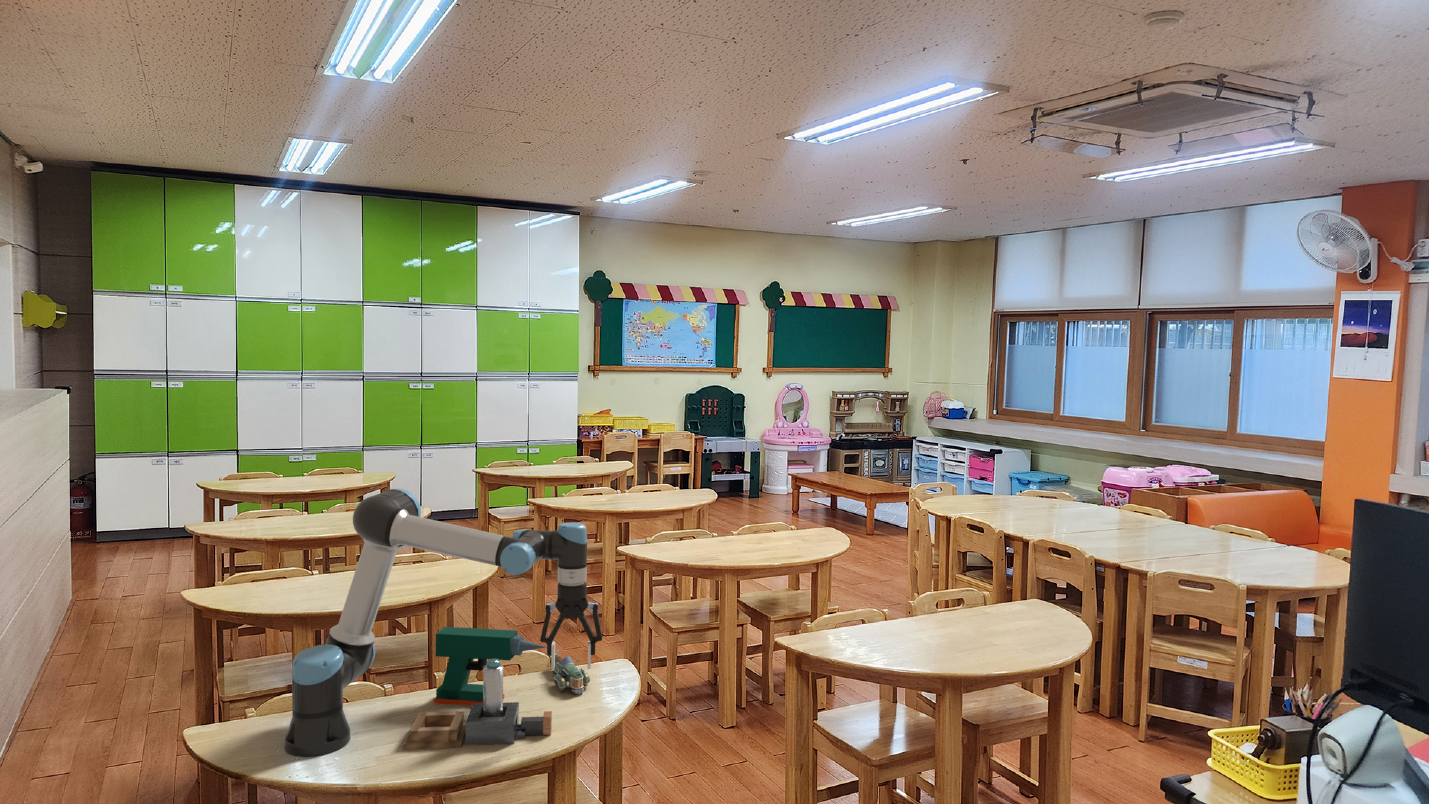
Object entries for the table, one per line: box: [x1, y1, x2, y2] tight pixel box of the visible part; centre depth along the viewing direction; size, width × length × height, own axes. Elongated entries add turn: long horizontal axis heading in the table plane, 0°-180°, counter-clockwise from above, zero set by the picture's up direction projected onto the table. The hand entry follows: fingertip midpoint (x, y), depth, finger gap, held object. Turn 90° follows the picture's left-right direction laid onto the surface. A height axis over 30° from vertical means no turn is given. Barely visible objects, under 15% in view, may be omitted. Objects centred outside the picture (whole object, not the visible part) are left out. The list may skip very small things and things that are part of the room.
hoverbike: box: [549, 650, 591, 696], centre depth 265 cm, size 10×25×8 cm, turn 28°
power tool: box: [433, 626, 547, 706], centre depth 248 cm, size 32×7×20 cm, turn 84°
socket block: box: [465, 701, 526, 746], centre depth 227 cm, size 14×12×6 cm
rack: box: [402, 710, 467, 750], centre depth 226 cm, size 14×14×4 cm
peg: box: [482, 659, 504, 717], centre depth 227 cm, size 5×5×20 cm
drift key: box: [520, 710, 553, 736], centre depth 229 cm, size 8×4×5 cm, turn 97°
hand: (571, 667), depth 229 cm, fingers open, 9 cm apart
